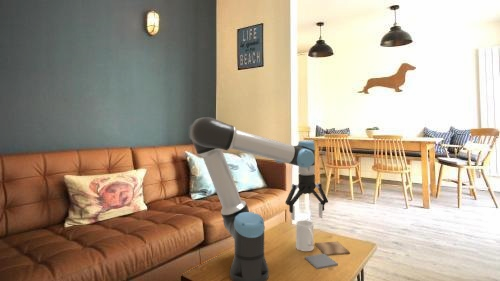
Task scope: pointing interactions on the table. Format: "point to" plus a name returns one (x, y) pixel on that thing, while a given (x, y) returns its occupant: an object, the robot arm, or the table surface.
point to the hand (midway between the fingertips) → (306, 218)
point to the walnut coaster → (332, 248)
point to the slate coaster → (321, 261)
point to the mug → (304, 235)
